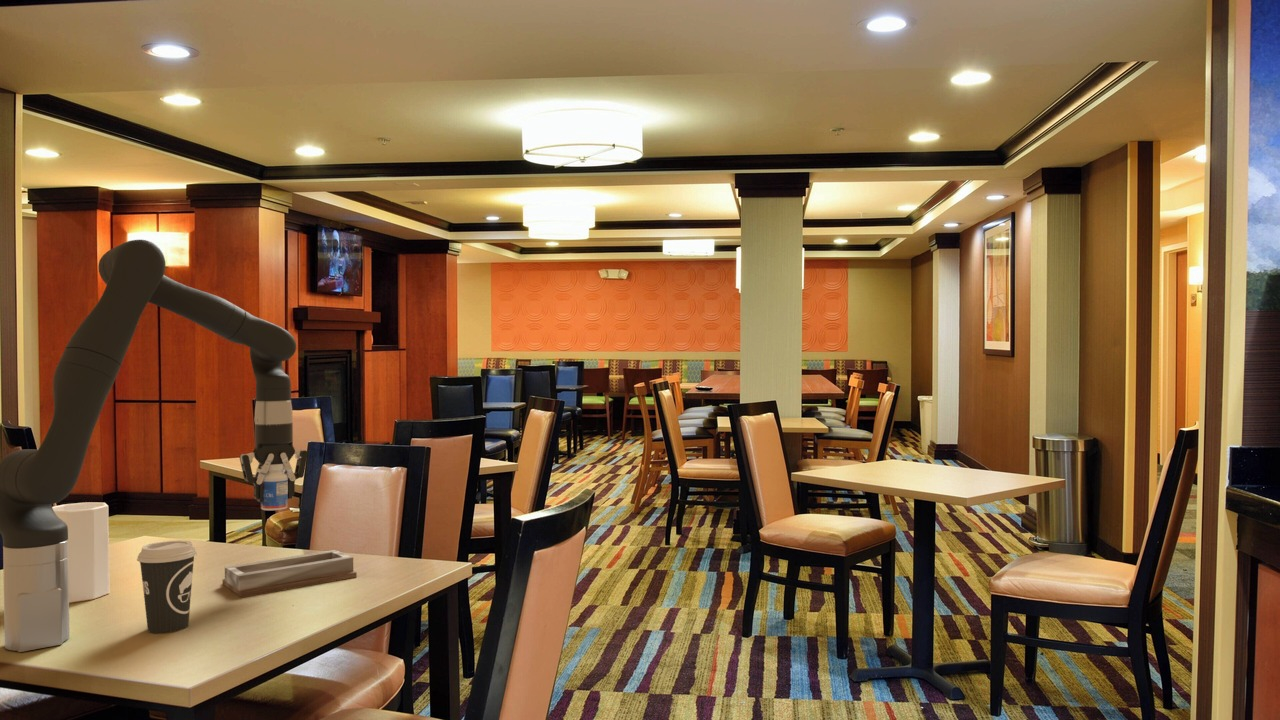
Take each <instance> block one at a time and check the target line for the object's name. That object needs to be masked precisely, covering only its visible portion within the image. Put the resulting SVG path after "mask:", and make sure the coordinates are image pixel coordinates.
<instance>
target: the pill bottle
mask: <svg viewBox="0 0 1280 720" xmlns="http://www.w3.org/2000/svg"><path fill="white" fill-rule="evenodd" d="M284 469H285V468H284V465H283V464H274V465H270V467H269V469H268V472H267V474H266V475H265V477H264V479H263V482H262V484H263V502H260V509H261V510H263V511H267V512H269V511H270V512H271V511H281V510H286V509H287V508H288V505H289V502H288V501H289V499H288V476H287V474H286V473H284V472H283V470H284Z"/></svg>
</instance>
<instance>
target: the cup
mask: <svg viewBox="0 0 1280 720" xmlns="http://www.w3.org/2000/svg"><path fill="white" fill-rule="evenodd" d="M52 508H53V511H54V512H55V514H56V515H57V516H58V517H59V518H60V519H61V520H62V521H64V522H65V523H66V525H67V527H68V580H69V604H73V603H80V602H87V601H93V600H96V599H98V598H101V597H103V596H107V595H109V594H110V541H109V540H110V539H109V538H110V535H109V531H110V530H109V529H110V528H109V524H110V523H109V505H108V504H107V503H106V502H95V501H94V502H92V501H91V502H90V501H89V502H87V501H85V502H84V501H83V502H77V503H66V504H65V503H64V504H60V505H54V506H52Z"/></svg>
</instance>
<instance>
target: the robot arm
mask: <svg viewBox="0 0 1280 720" xmlns="http://www.w3.org/2000/svg"><path fill="white" fill-rule="evenodd" d="M98 272H99V276H100V278H101V279H102V282H103V283H104V284H105V285H106V286H105V288H104V290H103V292H102V295H101V296H100V298H99V300H98V302H97V303H96V304H95V306H94V308H93V309H92V310H91V311H90V312H89V314H88V315H87V316H86V317H85V319H83V321H82V322H81V323H80V325H79V326H78V328H76V330H75V332H74V333H73V334H72V336H71V337H70V339H69V341H68V342H67V344H66V346H65V348H64V351H63V352H62V354H61V356H60V359H59V360H58V363H57V366H56V367H55V370H54V373H53V379H52V395H53V396H52V397H53V416H52V420H51V422H50V424H49V425H50V426H49V428H48V431H47V433H46V434H45V436H44V439H43V440H42V442H41V444H40V446H39V448H38V449H34V448H33V449H32V448H31V449H29V448H26V449H18V450H14V451H12V452H9V453H8V454H7V455H6V456H4V457H3V458H2V459H1V461H0V535H1V537H2V549H3V551H2V552H3V553H2V554H3V555H2V557H3V558H2V560H3V561H2V562H3V567H2V571H3V625H4V627H3V629H4V630H3V633H4V649H6V650H8V651H17V652H18V653H22V652H28V651H33V650H38V649H44V648H49V647H54V646H60V645H63V643H64V642H66V641H68V640H69V639H70V603H69V580H68V527H67V525H66V523H65V522H64V521H62V520H61V519H60V518H59V517H58V516H57V515H56V514H55V512H54V511H53V508H52V507H53V505H54V504H58V503H60V502H61V501H64V499H66V498H67V497H68V496H69V495H70V494H71V492H72V491H73V490H74V488H75V486H76V484H77V482H78V479H79V477H80V474H81V471H82V468H83V464H84V461H85V459H86V454H87V451H88V448H89V444H90V441H91V438H92V435H93V433H94V429H95V427H96V425H97V422H98V420H99V417H100V414H101V412H102V410H103V407H104V406H105V403H106V400H107V397H108V396H109V394H110V391H111V389H112V387H113V386H114V384H115V381H116V379H117V377H118V374H119V372H120V369H121V367H122V364H123V361H124V359H125V357H126V354H127V351H128V349H129V347H130V345H131V343H132V339H133V337H134V334H135V331H136V329H137V328H138V327H137V326H138V324H139V321H140V318H141V317H142V314H143V312H144V310H145V308H146V307H147V305H148V303H150V304H152V305H155V306H157V307H160V308H162V309H164V310H166V311H169V312H171V313H174V314H176V315H179V316H180V317H183V318H185V319H187V320H189V321H191V322H193V323H194V324H197V325H199V326H201V327H203V328H205V329H206V330H208V331H210V332H212V333H214V334H216V335H217V336H219V337H221V338H223V339H225V340H227V341H229V342H232V343H234V344H240V345H243V346H246V347H249V357H250V361H251V366H252V367H251V368H252V372H253V375H254V378H255V407H254V417H253V418H254V419H253V420H254V449H253V452H249V453H245V454H244V453H240V454H239V462H240V466H241V472H242V475H243V479H244V481H245V482H248V483H250V484H253V498H254V499H255V500H256V501H257V502H258V503H261V502H263V484H262V482H263V479H264V477H265V475H266V474H267V472H268V469H269V467H270V465H274V464H283V465H284V468H285V469H284V470H283V473H286V474H287V476H288V500H290V499H292V498H293V496H295V492H296V490H295V489H296V487H295V486H296V485H295V483H296V481H297V480H298V479H300V478H303V477H304V476H305V472H306V471H305V470H306V465H307V459H308V455H309V453H308V451H307V450H304V449H295V447H294V445H293V441H294V437H293V434H294V432H293V427H294V426H293V423H294V422H293V419H294V418H293V406H292V384H291V383H292V382H291V377H290V375H288V374H286V373H285V371H284V366H283V362H285V361H287V360H290V359H291V358H292V357H293V356H294V355H295V353H296V350H297V342H296V339H295V337H294V336H293V335H292V334H291V333H290V332H289V331H288V330H287V329H285V328H283V327H281V326H280V325H276V324H274V323H272V322H270V321H267V320H265V319H262V318H260V317H257V316H254V314H253V315H252V314H251V313H250V312H248V311H246V310H245V309H243V308H241V307H239V306H237V305H236V304H234V303H233V302H230V301H228V300H227V299H225V298H223V297H221V296H218V295H215V294H212V293H209V292H206V291H203V290H200V289H197V288H194V287H191V286H187V285H185V284H183V283H181V282H178V281H176V280H174V279H172V278H171V277H168V276H167V275H165V272H166V259H165V255H164V253H163V251H162V250H161V248H160V247H159V246H158V245H157V244H155V243H154V242H152V241H150V240H146V239H133V240H128V241H124V242H123V243H121V244H119V245H116V246H114V247H112V248H111V249H109V250H108V251H106V252H105V253H104V254H103V255H102V256H101V257H100V259H99V262H98ZM294 456H295V457H294ZM293 457H294V458H295V459H296V463H295V470H294V471H293V467H292V465H291V462H290V460H291V459H292V458H293ZM254 459H255V460H256V461H257V462H258V464H257V465H258V466H257V468H256V469H255V470H256V471H255V474H253V470H252V466H251V464H252V463H253V462H254V461H253V460H254Z"/></svg>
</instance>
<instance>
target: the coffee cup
mask: <svg viewBox="0 0 1280 720" xmlns="http://www.w3.org/2000/svg"><path fill="white" fill-rule="evenodd" d="M197 554H198V551H197V549H196V548H195V547H194V546H193V543H192V541H190V540H164V541H158V542H153V543H149V544H145V545H143V546H142V547H141V550H140V552H139V553H138V555H137V559H136V561H137V562H139V564H140V565H139V566H140V572H141V581H142V590H143V598H144V600H143V601H144V609H145V616H146V626H147V627H146V628H147V632H148V633H151V634H168V633H174V632H178V631H181V630H184V629H186V628H187V627H188V626H189V623H190V611H191V610H190V608H191V596H192V584H193V572H194V563H195V562H194V561H195V560H194V559H195V556H197Z"/></svg>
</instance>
